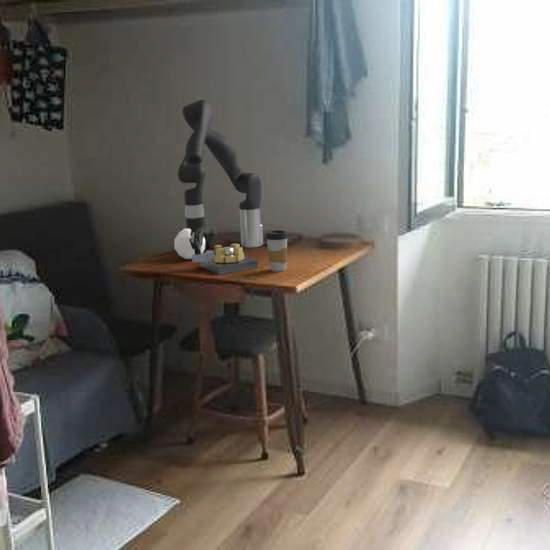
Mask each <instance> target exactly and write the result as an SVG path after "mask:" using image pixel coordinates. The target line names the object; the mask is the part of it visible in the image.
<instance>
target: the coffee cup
mask: <svg viewBox="0 0 550 550" xmlns="http://www.w3.org/2000/svg"><path fill="white" fill-rule="evenodd" d="M265 238H266V244H267V245H266V246H267V253H268V263H269V269H270V271H271V272H277V273H278V272H285V271H286V270H287V266H288V265H287V264H288V263H287V261H288V233H287V231H286V230H281V229H280V230H270V231H267V233H266V237H265Z"/></svg>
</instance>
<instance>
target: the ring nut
mask: <svg viewBox="0 0 550 550" xmlns="http://www.w3.org/2000/svg"><path fill="white" fill-rule="evenodd" d="M240 245H241V243H231V244H230V246H229V247H233V251H234V255H228V256H225V249H222V248H223V245H221V244H216V245H213V246H212V247H213V250H206V252H203V253H200V254H192V259H191V261H192V263H193V264H195V263H201V262H205V261H208V262H210V261H214V262H218V263H232V262H239V261H242V260H244V259H245V257H244V256H245V252H244V251H243V248H244V247H242V246H240Z"/></svg>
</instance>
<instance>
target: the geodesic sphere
mask: <svg viewBox="0 0 550 550" xmlns="http://www.w3.org/2000/svg"><path fill="white" fill-rule="evenodd" d="M190 233H191V229H189V228H187V227H186V228H185V227H183V228H182V230H181V231H179V232H178V234H177V235H176V237H175V238H174V247H173V248H174V250H175V251H176V252H177V254H178V256H180V257H181V258H183V259H184V260H192V254H195V252H194V249H192V247H191V244H190V241H189V238H191V237H190ZM200 249H201V253H204V251H205V249H206V238H205V236H203V242H202V246H201V248H200Z"/></svg>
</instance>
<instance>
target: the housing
mask: <svg viewBox="0 0 550 550" xmlns="http://www.w3.org/2000/svg"><path fill="white" fill-rule="evenodd" d="M222 249H225V256H228V255H234V251H233V247H231V246H224V247H223V246H222ZM244 257H245V259H244V260H242V261H239V262H232V263H218V262H214V261H210V262H208V261H205V262H200V268H202V269H205V270H208V271H210V272H212V273H215V274H217V275H219V274H220V275H224V274H230V272H231V273H237V272H240V271H242V270H243V271H247V270H252V269H258V267H259V266H258V265H259V264H258V260H257V259H254V258H251V257H249V256H246V255H244ZM236 271H237V272H236Z"/></svg>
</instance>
